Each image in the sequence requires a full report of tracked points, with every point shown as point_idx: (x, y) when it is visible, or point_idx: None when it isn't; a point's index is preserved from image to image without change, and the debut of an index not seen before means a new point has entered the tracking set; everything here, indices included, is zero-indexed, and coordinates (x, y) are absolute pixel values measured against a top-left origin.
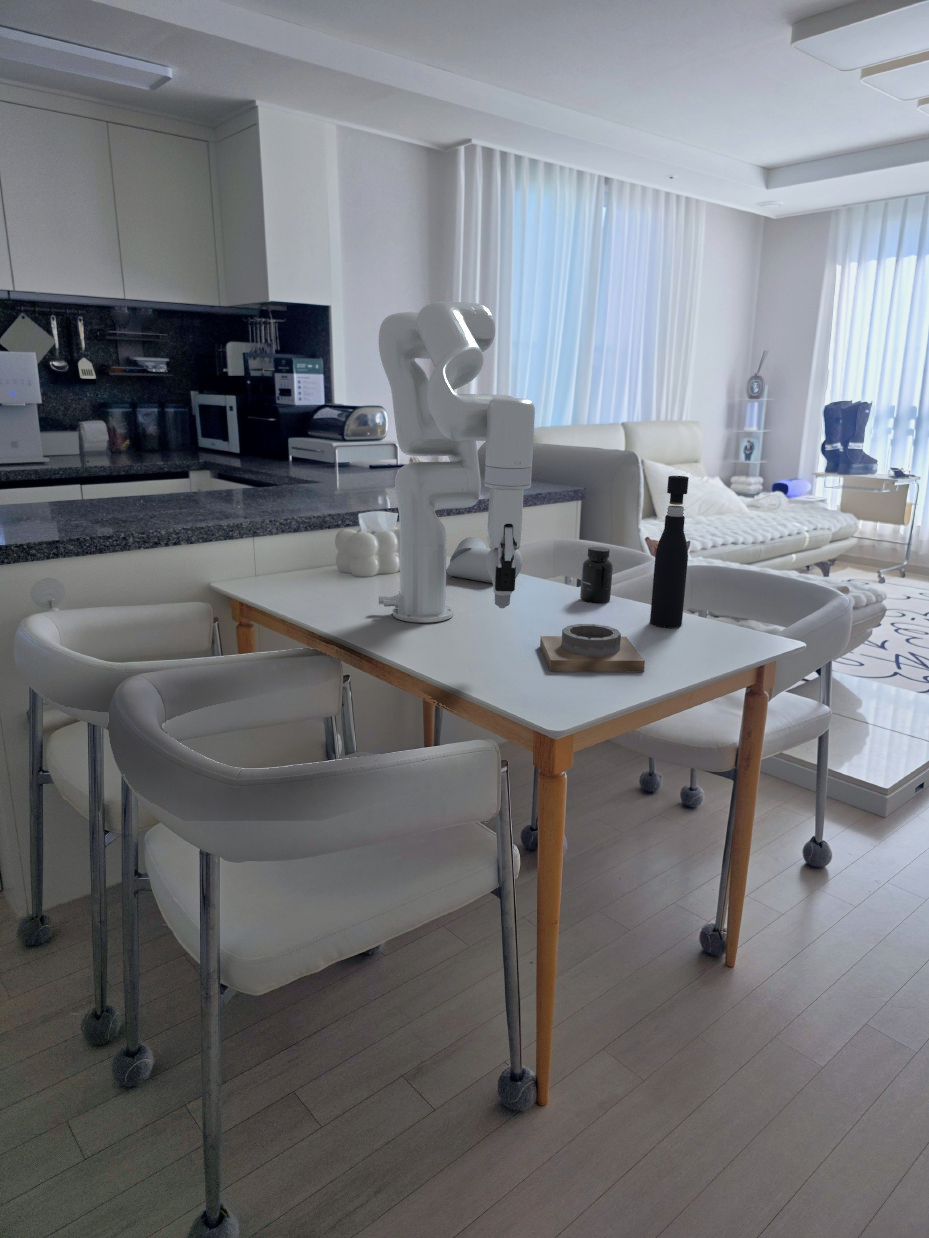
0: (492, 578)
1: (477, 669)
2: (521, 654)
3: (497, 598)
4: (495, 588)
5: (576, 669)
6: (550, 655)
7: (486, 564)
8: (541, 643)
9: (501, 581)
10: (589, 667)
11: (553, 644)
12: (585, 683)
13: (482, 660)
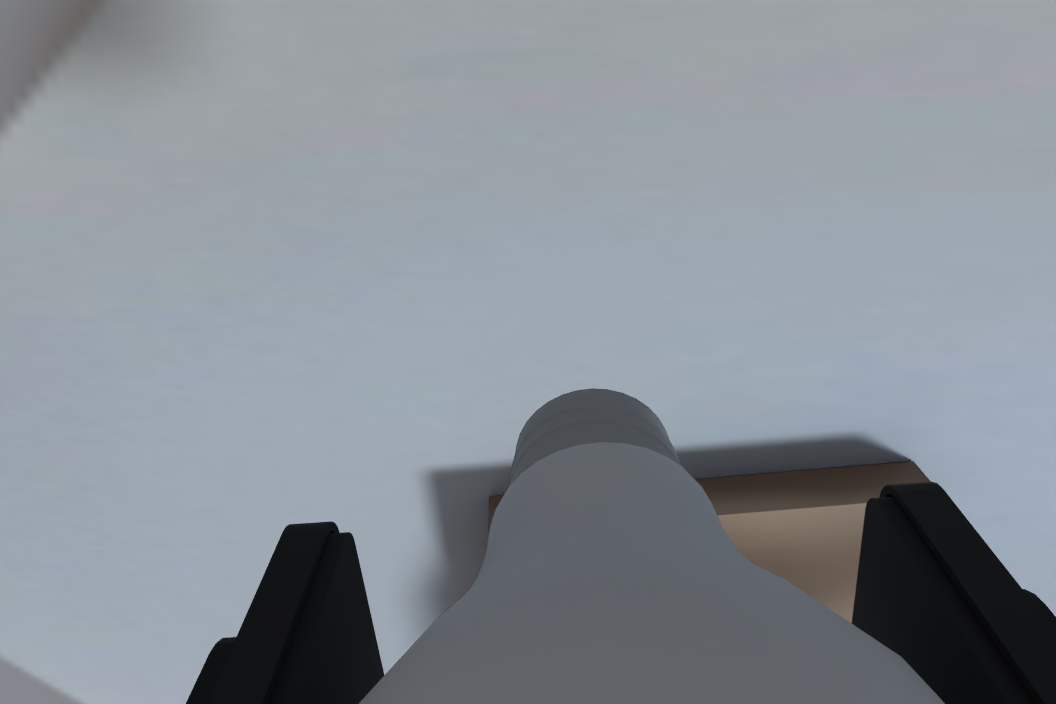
0: (528, 553)
1: (477, 109)
2: (774, 364)
3: (530, 450)
4: (283, 538)
5: None
6: None
7: (549, 649)
8: (878, 483)
9: (191, 696)
10: None
11: (773, 554)
12: None
13: (658, 136)
